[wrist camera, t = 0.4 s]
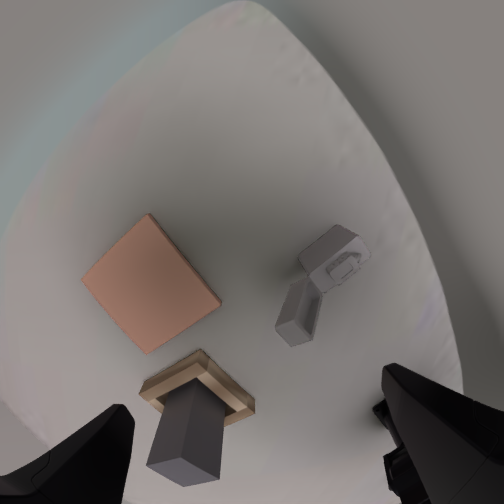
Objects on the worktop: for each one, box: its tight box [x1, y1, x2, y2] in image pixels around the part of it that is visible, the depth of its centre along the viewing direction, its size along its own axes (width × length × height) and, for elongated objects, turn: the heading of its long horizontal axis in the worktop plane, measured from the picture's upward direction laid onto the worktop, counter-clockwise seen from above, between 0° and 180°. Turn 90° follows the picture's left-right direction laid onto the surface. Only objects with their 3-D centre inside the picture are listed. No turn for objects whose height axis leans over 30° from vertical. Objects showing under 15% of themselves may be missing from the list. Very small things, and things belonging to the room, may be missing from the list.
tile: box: [81, 213, 222, 355], centre depth 21 cm, size 9×9×1 cm
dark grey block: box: [146, 377, 226, 487], centre depth 20 cm, size 4×4×10 cm
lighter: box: [275, 225, 371, 347], centre depth 17 cm, size 7×2×8 cm, turn 129°
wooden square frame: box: [139, 349, 255, 427], centre depth 24 cm, size 8×8×2 cm
